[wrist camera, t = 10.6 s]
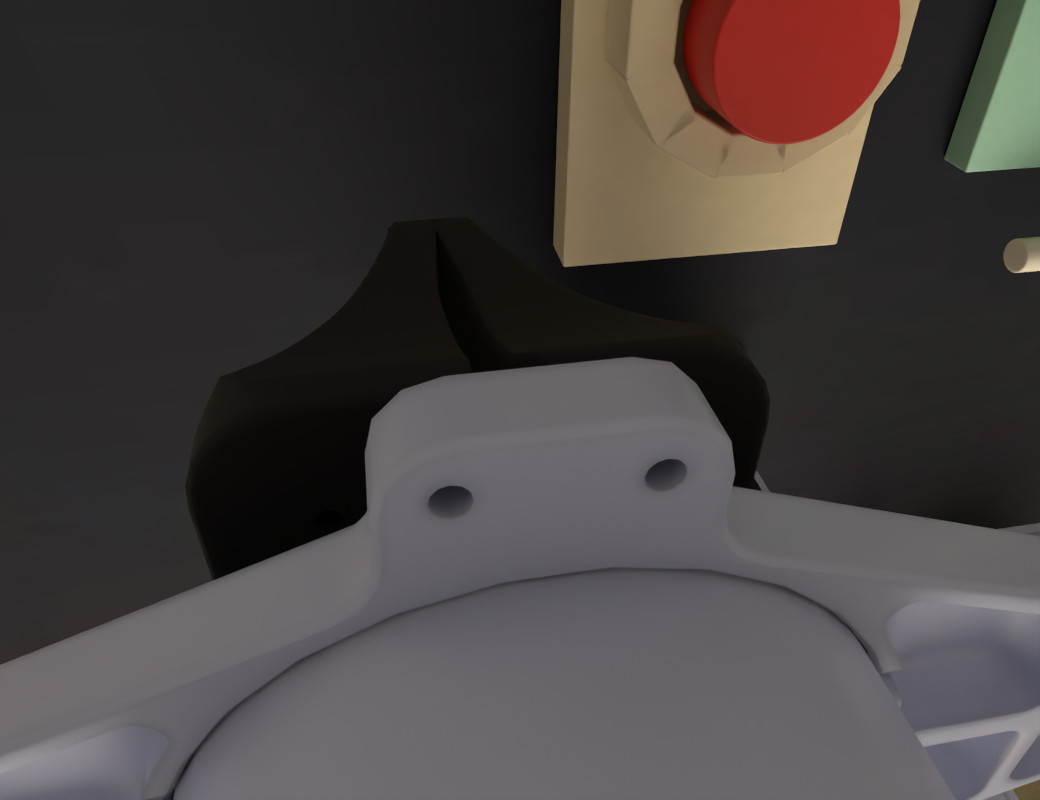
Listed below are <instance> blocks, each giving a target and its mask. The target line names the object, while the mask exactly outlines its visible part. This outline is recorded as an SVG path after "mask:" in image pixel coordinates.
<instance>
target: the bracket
mask: <svg viewBox="0 0 1040 800" xmlns="http://www.w3.org/2000/svg"><path fill="white" fill-rule="evenodd" d="M945 160H947V161H948V162H950V163H951V164H953V165H955V166H956V167H958V168H960V169H961V170H963V171H965V172H977V171H991V170H1005V169H1019V168H1033V167H1040V0H997V2H996V5H995V8H994V11H993V14H992V17H991V20H990V23H989V26H988V29H987V32H986V35H985V38H984V41H983V44H982V47H981V50H980V53H979V56H978V59H977V62H976V65H975V68H974V71H973V74H972V77H971V80H970V83H969V86H968V89H967V92H966V95H965V98H964V101H963V104H962V107H961V110H960V113H959V116H958V119H957V122H956V125H955V128H954V131H953V134H952V137H951V140H950V143H949V146H948V149H947V152H946V155H945Z"/></svg>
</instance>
